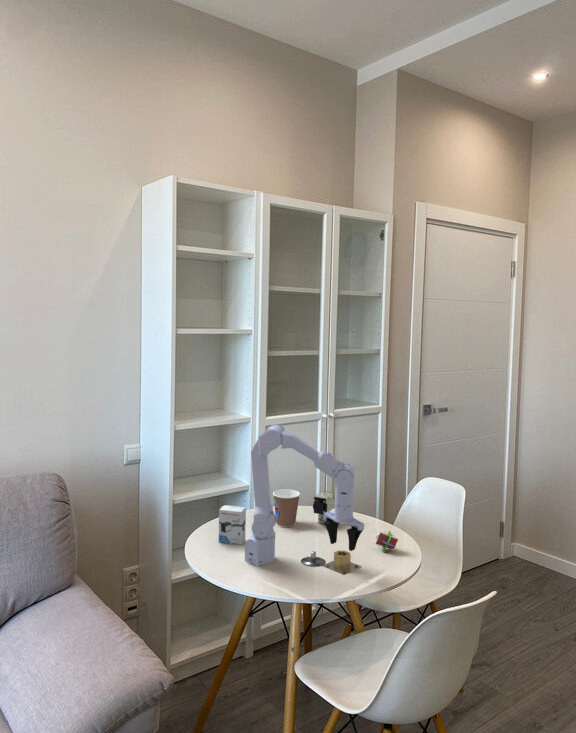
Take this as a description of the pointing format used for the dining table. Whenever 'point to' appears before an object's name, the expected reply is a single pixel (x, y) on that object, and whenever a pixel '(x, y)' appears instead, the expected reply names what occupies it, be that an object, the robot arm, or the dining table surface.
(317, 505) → the pneumatic valve
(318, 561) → the stand
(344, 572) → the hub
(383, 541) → the geometric puzzle
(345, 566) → the brass collar
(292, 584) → the dining table surface
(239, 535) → the ink box
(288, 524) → the coffee cup
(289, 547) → the dining table surface
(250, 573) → the dining table surface
